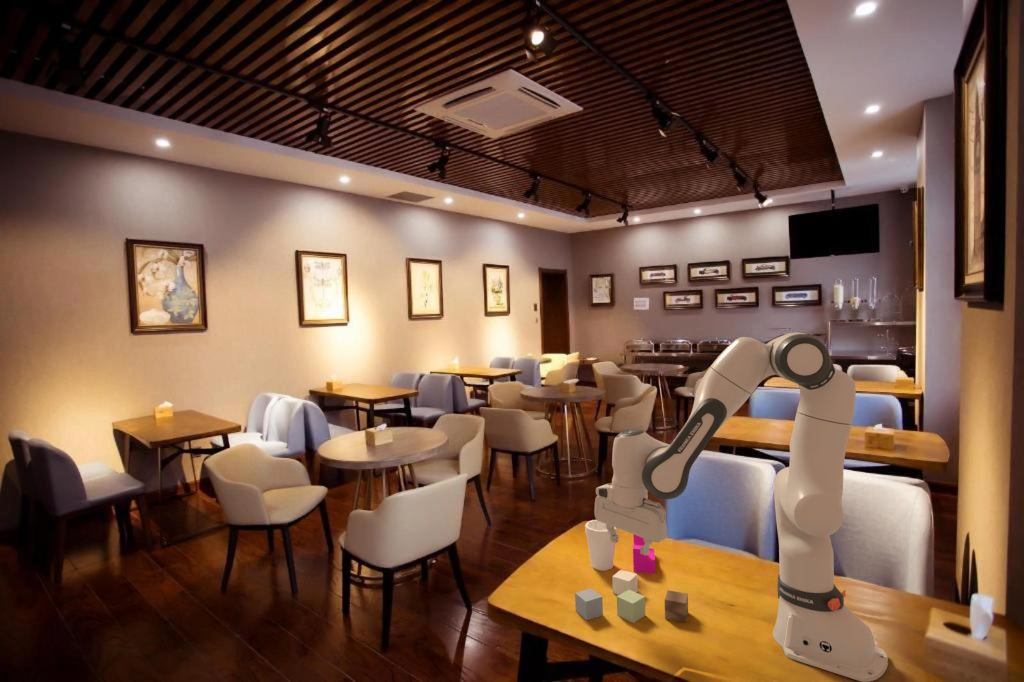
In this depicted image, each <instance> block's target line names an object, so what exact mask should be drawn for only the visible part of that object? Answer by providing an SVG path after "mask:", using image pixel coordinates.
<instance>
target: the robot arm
mask: <svg viewBox="0 0 1024 682" xmlns="http://www.w3.org/2000/svg"><path fill="white" fill-rule="evenodd" d="M775 375H776V376H778V377H781V378H782V379H783V380H787V381H790V382H792V383H793V384H796V385H797V386H798V387H799V402H798V406H797V410H796V412H795V413H796V414H795V418H794V422H793V427H792V432H791V435H790V441H789V466H787V467H784V468H782V469H781V470H779V471H778V472H777V473H776V475H775V476H774V479H773V496H774V497H773V498H774V500H773V501H774V509H775V512H774V513H775V521H776V529H777V537H778V548H779V549H778V552H779V554H778V555H779V557H778V558H779V559H778V560H779V574H778V575H777V584H776V589H777V590H776V591H777V599H778V609H777V616H776V620H775V624H774V627H773V630H772V636H773V639H774V640H775V642H776V643H777V645H779V646H780V647H781V648H782V649H783V652H784V655H785V656H786V657H787V658H789V659H791V660H794V661H797V662H800V663H803V664H806V665H809V666H812V667H816V668H819V669H822V670H825V671H827V672H830V673H834V674H837V675H839V676H843V677H846V678H850V679H853V680H856V681H859V682H873V681H876V680H878V679H879V678H881V677H882V676H883V675H884V674H885V673H886V671H887V668H888V667H889V666H888V665H889V661H888V659H889V658H888V654H887V652H885V650H883V649H882V648H880V647H877V646H876V642H875V639H874V638H875V637H874V634H873V632H872V630H871V628H870V627H869V625H868V624H866V623H865V622H864V621H863V620H861V618H859V617H858V615H856V614H855V613H854V612H853V611H852V610H851V609H849V608H848V607H847V606H846V605H845V600H844V599H845V597H846V590H845V589H844V590H843V591H842V592H841V591H840V590H839V589H838V588H837V586H836V584H835V576H834V575H835V571H834V567H835V565H834V564H835V561H834V557H835V556H834V549H833V545H832V540H831V535H833V534H835V533H836V532H838V530H839V529H840V528H841V526H842V524H843V522H844V512H843V504H842V503H843V491H844V490H843V489H844V471H845V469H844V467H845V457H846V451H847V447H848V443H849V439H850V435H851V434H850V433H851V430H852V426H853V422H854V421H853V420H854V415H855V408H856V398H857V397H856V396H857V386H856V381H855V380H854V378H853V377H852V376H850V375H849V374H848V373H846V372H844V371H842V370H839V369H836V368H835V367H834V364H833V360H832V358H831V354H830V353H829V350H828V348H827V346H826V345H825V343H823V342H822V341H821V340H820V339H819V338H817V337H816V336H814V335H810V334H807V333H803V332H797V331H795V332H789V333H785V334H780V335H778V336H776V337H773V338H771V339H769V340H767V341H764V342H762V341H760V340H759V339H756V338H753V337H749V336H748V337H747V336H742V337H741V336H740V337H737V338H735V340H733V341H732V342H731V343H730V344H729V345H728V346H727V347H726V348H724V350H723V351H722V352H721V353H720V354H719V355H718V356H717V358H716V359H715V360H714V361H713V363H712V364H711V365H710V367H708V369H707V371H706V372H705V373H704V375H703V377H702V378H701V380H700V382H699V384H698V386H697V389H696V391H695V395H694V401H693V405H692V409H691V413H690V415H689V416H688V419H687V421H686V422H685V424H684V425H683V426H682V428H681V430H680V431H679V432H678V433H677V435H676V437H675V438H674V439H673V441H672V442H671V443H669V444H668V443H666V442H663V441H661V440H658V439H656V438H654V437H653V436H652V435H651V436H650V435H649V434H648V433H647V432H646V431H645V430H642V429H627V430H624V431H621V432H619V433H618V434H617V435H616V436H615V438H614V439H613V445H612V457H611V458H612V459H611V462H612V463H611V467H612V471H613V474H612V475H613V476H612V478H611V482H610V483H606V484H603V485H600V486H598V487H596V488H595V494H596V497H595V501H594V509H593V510H594V518H595V520H597V521H600V522H602V523H605V524H606V528H607V530H608V532H609V535H610V541H611V542H613V543H615V544H616V543H619V540H620V539H619V538H620V537H619V534H618V533H617V534H616V532H615V529H614V527H616V528H617V530H618V529H619V530H621V531H624V532H626V533H629V534H632V535H633V534H635V535H637V536H640V537H643V538H644V542H646V543H645V545H643V546H641V547H640V550H641V551H640V553H641V554H643V555H648V554H649V548H651V546H652V544H653V543H657V544H658V543H660V542H663V541H665V539H666V538H668V527H667V526H668V525H667V520H666V515H667V513H666V509H665V508H664V507H663V506H662V505H661V503H660V502H657V501H652V500H650V499H648V498H649V497H648V493H649V494H650V495H652V496H653V497H655V498H658V499H661V500H672V499H675V498H678V497H679V496H681V495H682V494H683V493H684V492H685V490H686V489H687V487H688V482H689V475H690V472H691V469H692V467H693V465H694V463H695V461H696V460H697V459H698V458H699V456H700V455H701V453H702V452H703V450H704V449H705V448H706V446H707V445H708V443H709V442H710V441H711V439H712V438H713V437H714V435H715V434H716V433H717V432H718V430H719V429H721V427H722V426H723V425H724V424H725V423H726V422H727V421H728V420H729V419H730V418H731V417H732V416H733V415H734V414H735V413H736V412H737V411H738V410H740V408H741V407H742V406H743V405H744V404H745V402H747V401H748V399H749V398H750V397H751V395H752V394H754V391H755V390H756V389H757V387H758V385H760V384H761V382H762V381H764V380H765V379H766V378H768V377H770V376H775Z"/></svg>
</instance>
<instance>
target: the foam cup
mask: <svg viewBox="0 0 1024 682" xmlns="http://www.w3.org/2000/svg"><path fill="white" fill-rule="evenodd" d="M584 529H585V530H584V531H585V535H586V539H587V545H588V546H587V547H588V548H587V549H588V553H589V559H590V565H591V568H593V569H594V570H597V571H602V572H604V571H609V569H610V570H611V569H613V567H614V563H615V562H614V561H615V560H614V559H615V552H616V543H613V542H611V541H610V535H609V532H608V530H607V528H606V524H605V523H602V522H600V521H597V519H592V520H589V521H587V522H586V523H585V525H584ZM614 529H615V532H616V534H617V535H618V528H616V527H614Z"/></svg>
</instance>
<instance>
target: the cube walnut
mask: <svg viewBox="0 0 1024 682" xmlns="http://www.w3.org/2000/svg"><path fill="white" fill-rule="evenodd" d="M688 599H689V595H688V593H687V592H682V591H681V592H680V591H674V590H668V589H667V590H666V593H665V597H664V619H665V620H670V621H675V622H679V623H680V622H681V623H684V624H685V623H687V620H688V616H689V600H688Z"/></svg>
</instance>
